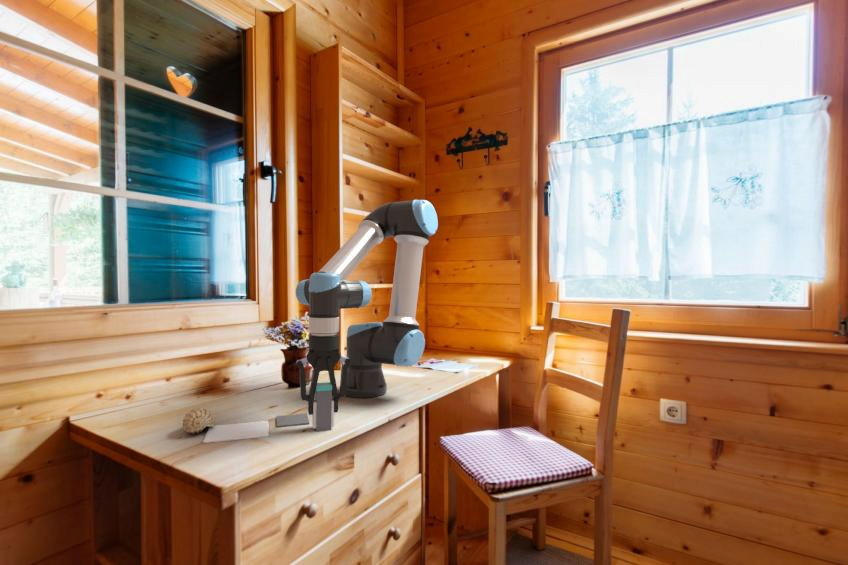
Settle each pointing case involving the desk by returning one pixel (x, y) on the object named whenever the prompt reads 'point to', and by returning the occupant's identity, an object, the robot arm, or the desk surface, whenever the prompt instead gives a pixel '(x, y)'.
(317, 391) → the marker
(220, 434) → the paper
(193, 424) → the seashell
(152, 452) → the desk surface
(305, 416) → the coaster
